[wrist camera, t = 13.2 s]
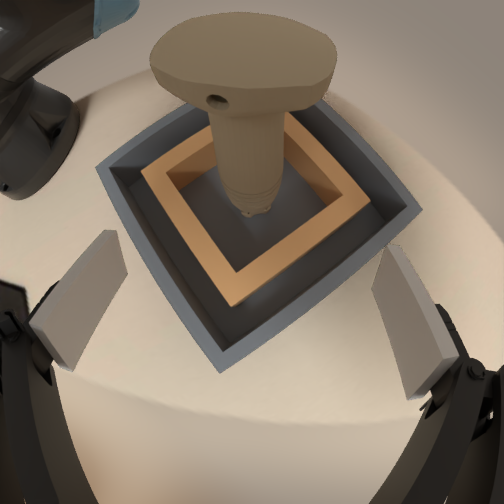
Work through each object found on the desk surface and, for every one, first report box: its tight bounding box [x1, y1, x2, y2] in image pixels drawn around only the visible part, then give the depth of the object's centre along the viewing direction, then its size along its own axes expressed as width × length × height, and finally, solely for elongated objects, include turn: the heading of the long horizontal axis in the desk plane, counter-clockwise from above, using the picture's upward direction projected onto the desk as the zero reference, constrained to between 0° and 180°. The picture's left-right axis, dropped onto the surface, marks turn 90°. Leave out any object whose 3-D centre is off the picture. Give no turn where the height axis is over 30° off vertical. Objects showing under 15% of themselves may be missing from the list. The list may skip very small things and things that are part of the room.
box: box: [95, 99, 423, 374], centre depth 20 cm, size 18×18×5 cm
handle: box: [150, 12, 337, 218], centre depth 14 cm, size 5×6×15 cm
